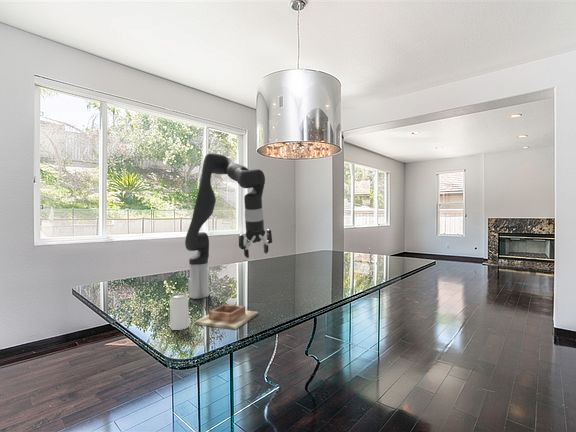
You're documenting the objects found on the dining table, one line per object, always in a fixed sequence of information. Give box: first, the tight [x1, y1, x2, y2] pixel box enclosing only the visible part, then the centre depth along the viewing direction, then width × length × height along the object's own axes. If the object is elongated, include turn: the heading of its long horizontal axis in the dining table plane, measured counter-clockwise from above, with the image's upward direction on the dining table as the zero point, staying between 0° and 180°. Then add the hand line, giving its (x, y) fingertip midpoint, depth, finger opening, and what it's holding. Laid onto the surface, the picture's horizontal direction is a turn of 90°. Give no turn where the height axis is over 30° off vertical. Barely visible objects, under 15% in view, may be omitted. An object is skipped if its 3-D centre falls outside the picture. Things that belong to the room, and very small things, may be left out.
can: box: [169, 293, 190, 331], centre depth 114 cm, size 6×6×12 cm
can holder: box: [194, 303, 259, 330], centre depth 123 cm, size 18×18×4 cm
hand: (256, 255), depth 130 cm, fingers open, 8 cm apart
